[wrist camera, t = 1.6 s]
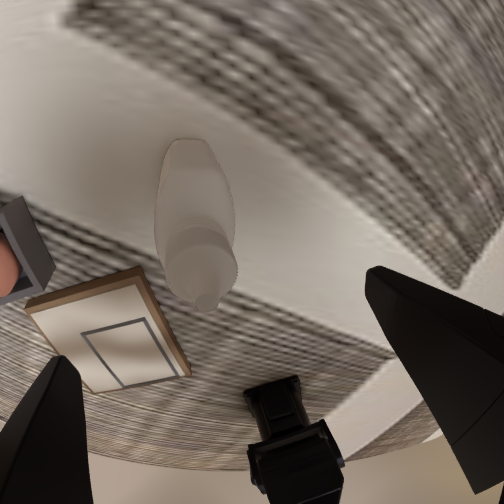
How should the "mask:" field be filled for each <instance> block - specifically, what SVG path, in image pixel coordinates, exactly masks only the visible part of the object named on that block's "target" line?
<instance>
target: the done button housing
mask: <svg viewBox="0 0 504 504" xmlns="http://www.w3.org/2000/svg"><path fill="white" fill-rule="evenodd" d="M0 232H1V233H4V234H6V237H7V239H8V241H9V243H10V245H11V246H12V248H13V250H14V252H15V254H16V256H17V258H18V260H19V262H20V263H21V265H22V267H23V271H22V273H21V275H20V277H19V278H18V280H17V282H16V283H15V285H14V287H13V288H12V290H11V292H10V293H9V294H8V295H7V296H4V297H0V305H3V304H6V303H9V302H12V301H15V300H18V299H21V298H24V297H28V296H31V295H34V294H37V293H40V292H43V291H44V290H45V288H46V286H47V284H48V282H49V280H50V278H51V276H52V274H53V272H54V270H55V268H56V266H55V264H54V262H53V261H52V259H51V257H50V255H49V253H48V251H47V249H46V247H45V245H44V243H43V241H42V239H41V237H40V235H39V233H38V231H37V228H36V226H35V224H34V222H33V220H32V218H31V215H30V213H29V211H28V208H27V206H26V204H25V201H24V199H23V196H21V197H19V198H17V199H15V200H13V201H11V202H9V203H7V204H5V205H3V206H2V207H0Z"/></svg>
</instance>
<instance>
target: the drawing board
mask: <svg viewBox="0 0 504 504" xmlns="http://www.w3.org/2000/svg"><path fill="white" fill-rule="evenodd" d="M24 310H25V312H26V313H27V315H28V316H29V318H30V319H31V320H32V322H33V323H34V325H35V326H36V327H37V329H38V330H39V331H40V333H41V334H42V335H43V337H44V338H45V339H46V341H47V342H48V343H49V344H50V346H51V347H52V348H53V349H54V351H55V352H56V353H57V354H58V356H59V355H64V356H66V357H67V358H68V359H69V360H70V362H71V363H72V364H73V365H74V366H75V367H76V369H77V370H78V371H79V373H80V375H81V381H82V383H83V384H84V385H85V386H86V387H87V388H88V389H89V390H90V391H91V393H92V394H99V393H106V392H112V391H118V390H124V389H129V388H135V387H140V386H145V385H150V384H155V383H160V382H165V381H169V380H174V379H178V378H182V377H187V376H191V375H192V373H191V366H190V364H189V362H188V360H187V358H186V357H185V355H184V353H183V351H182V349H181V347H180V346H179V344H178V342H177V340H176V338H175V336H174V334H173V332H172V330H171V328H170V327H169V325H168V323H167V321H166V319H165V317H164V315H163V313H162V311H161V309H160V307H159V305H158V302H157V300H156V298H155V296H154V294H153V292H152V290H151V288H150V286H149V283H148V281H147V279H146V277H145V275H144V273H143V270H142V268H141V266H138V267H135V268H132V269H128V270H125V271H121V272H118V273H115V274H111V275H108V276H105V277H102V278H98V279H95V280H92V281H88V282H85V283H82V284H79V285H75V286H72V287H69V288H66V289H62V290H59V291H56V292H53V293H50V294H46V295H43V296H40V297H37V298H34V299H30V300H28V302H27V304H26V306H25V308H24Z"/></svg>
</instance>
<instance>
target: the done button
mask: <svg viewBox="0 0 504 504" xmlns="http://www.w3.org/2000/svg"><path fill="white" fill-rule="evenodd" d="M22 271H23V267H22V265H21V263H20V262H19V260H18V258H17V256H16V254H15V252H14V250H13V248H12V246H11V245H10V243H9V241H8V239H7V237H6V234H4V233H1V232H0V297H4V296H7V295H8V294H9V293H10V292H11V290H12V288H13V287H14V285H15V283H16V282H17V280H18V278H19V277H20V275H21V273H22Z"/></svg>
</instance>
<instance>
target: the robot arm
mask: <svg viewBox="0 0 504 504" xmlns="http://www.w3.org/2000/svg"><path fill="white" fill-rule="evenodd" d="M365 296H366V299H367V301H368V303H369V305H370V307H371V309H372V311H373V312H374V314H375V316H376V318H377V320H378V322H379V324H380V326H381V328H382V330H383V332H384V334H385V336H386V338H387V340H388V342H389V343H390V345H391V347H392V348H393V350H394V351H395V353H396V354H397V356H398V358H399V359H400V361H401V362H402V364H403V366H404V367H405V369H406V370H407V372H408V374H409V375H410V377H411V379H412V380H413V382H414V384H415V385H416V387H417V388H418V390H419V392H420V394H421V395H422V397H423V399H424V400H425V402H426V404H427V405H428V407H429V409H430V411H431V412H432V414H433V416H434V418H435V419H436V421H437V423H438V425H439V426H440V428H441V430H442V432H443V434H444V435H445V437H446V439H447V441H448V443H449V445H450V446H451V449H452V451H453V453H454V454H455V456H456V458H457V460H458V462H459V464H460V466H461V468H462V470H463V472H464V474H465V476H466V478H467V480H468V482H469V484H470V486H471V488H472V490H473V492H474V493H475V495H476V494H478V493H480V492H483V491H484V490H487V489H489V488H491V487H493V486H495V485H496V484H499V483H500V482H502V481H504V317H503V316H501V315H498V314H496V313H494V312H491V311H489V310H487V309H483V308H482V307H480V306H477V305H475V304H473V303H470V302H468V301H466V300H463V299H461V298H459V297H456V296H454V295H452V294H449V293H447V292H445V291H442V290H440V289H437V288H435V287H433V286H430V285H428V284H425V283H423V282H420V281H418V280H416V279H413V278H411V277H408V276H406V275H403V274H401V273H398V272H396V271H393V270H391V269H388V268H386V267H383V266H376V267H373V268H370V269H368V270H367V272H366V281H365ZM243 395H244V398H245V400H246V403H247V405H248V407H249V410H250V412H251V414H252V416H253V417H254V418H255V419H256V422H257V426H258V429H259V432H260V435H261V439H262V442H259V443H255V444H249V445H248V448H249V450H247V455H248V459H249V463H250V474H251V482H252V484H253V485H255V486H257V487H258V489H259V490H260V491H261V493H262V494H263V495H264V494H267V497H268V500H269V502H270V504H339V502H340V498H341V493H342V489H343V483H344V477H343V475H342V472H341V470H340V468H343V467H345V464H344V460H343V457H342V455H341V452H340V450H339V448H338V446H337V444H336V442H335V440H334V438H333V436H332V434H331V432H330V430H329V428H328V426H327V424H326V422H325V420H324V419H321V420H319V421H318V422H316V423H313V424H311V423H310V420H309V418H308V415H307V413H306V411H305V408H304V406H303V404H302V398H301V388H300V380H299V377H298V376H293V377H290V378H287V379H284V380H281V381H278V382H275V383H272V384H268V385H265V386H262V387H259V388H255V389H252V390H248V391H245V392H244V393H243ZM0 504H93V497H92V490H91V482H90V474H89V464H88V452H87V436H86V420H85V411H84V402H83V393H82V381H81V375H80V373H79V371H78V370H77V369H76V367H75V366H74V365H73V364H72V363H71V362H70V360H69V359H68V358H67V357H66V356H64V355H59V356H54V357H52V358H51V359H50V361H49V362H48V363H47V365H46V366H45V367H44V369H43V370H42V371H41V373H40V374H39V376H38V377H37V378H36V380H35V381H34V383H33V384H32V385H31V387H30V388H29V390H28V391H27V392H26V394H25V395H24V397H23V398H22V400H21V401H20V403H19V404H18V406H17V407H16V409H15V410H14V412H13V413H12V415H11V416H10V418H9V419H8V421H7V422H6V424H5V426H4V427H3V429H2V431H1V432H0ZM499 504H504V486H503V489H502V493H501V497H500V501H499Z"/></svg>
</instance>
